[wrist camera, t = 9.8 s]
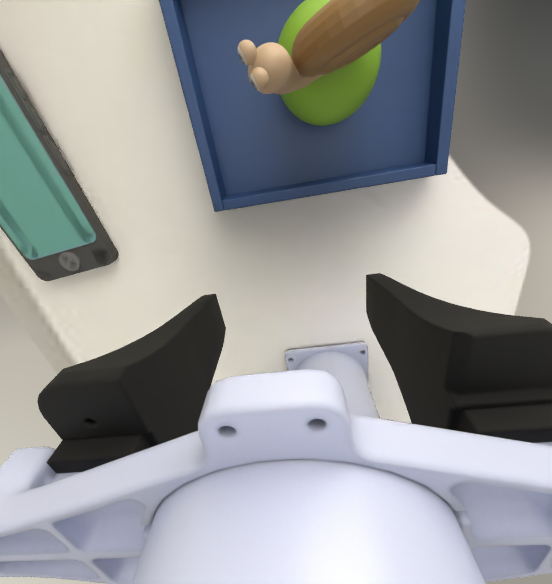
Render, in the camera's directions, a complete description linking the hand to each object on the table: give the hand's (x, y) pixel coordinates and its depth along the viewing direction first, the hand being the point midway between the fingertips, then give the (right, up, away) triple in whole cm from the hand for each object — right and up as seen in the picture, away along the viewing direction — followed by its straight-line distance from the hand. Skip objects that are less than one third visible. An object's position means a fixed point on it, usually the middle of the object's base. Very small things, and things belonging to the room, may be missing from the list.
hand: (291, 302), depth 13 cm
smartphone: (-19, +9, +8) cm, 23 cm away
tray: (+2, +14, +4) cm, 14 cm away
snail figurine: (+2, +14, +4) cm, 14 cm away
